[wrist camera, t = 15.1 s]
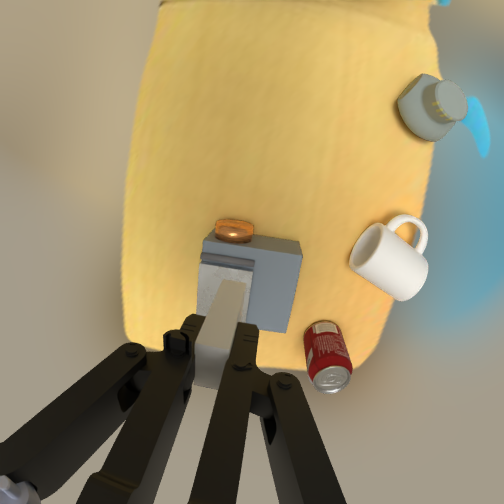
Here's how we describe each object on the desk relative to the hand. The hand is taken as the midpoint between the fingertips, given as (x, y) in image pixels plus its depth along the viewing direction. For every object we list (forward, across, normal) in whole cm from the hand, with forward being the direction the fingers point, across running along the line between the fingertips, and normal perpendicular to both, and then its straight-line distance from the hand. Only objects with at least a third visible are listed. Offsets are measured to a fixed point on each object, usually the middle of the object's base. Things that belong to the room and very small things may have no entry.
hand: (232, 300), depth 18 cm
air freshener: (+26, +23, +22) cm, 41 cm away
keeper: (+18, -3, -10) cm, 21 cm away
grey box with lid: (+25, 0, -9) cm, 27 cm away
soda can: (+25, +14, -19) cm, 34 cm away
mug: (+26, +21, -1) cm, 33 cm away
